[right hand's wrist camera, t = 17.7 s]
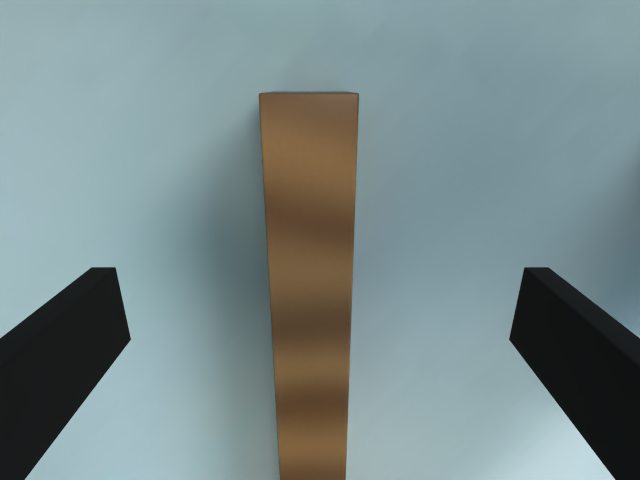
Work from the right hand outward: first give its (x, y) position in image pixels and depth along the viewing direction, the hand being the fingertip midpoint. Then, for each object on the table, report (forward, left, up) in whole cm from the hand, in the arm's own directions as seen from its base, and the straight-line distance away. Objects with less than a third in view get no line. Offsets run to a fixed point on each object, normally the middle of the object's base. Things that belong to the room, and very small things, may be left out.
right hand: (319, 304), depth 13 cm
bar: (+21, +9, -18) cm, 29 cm away
